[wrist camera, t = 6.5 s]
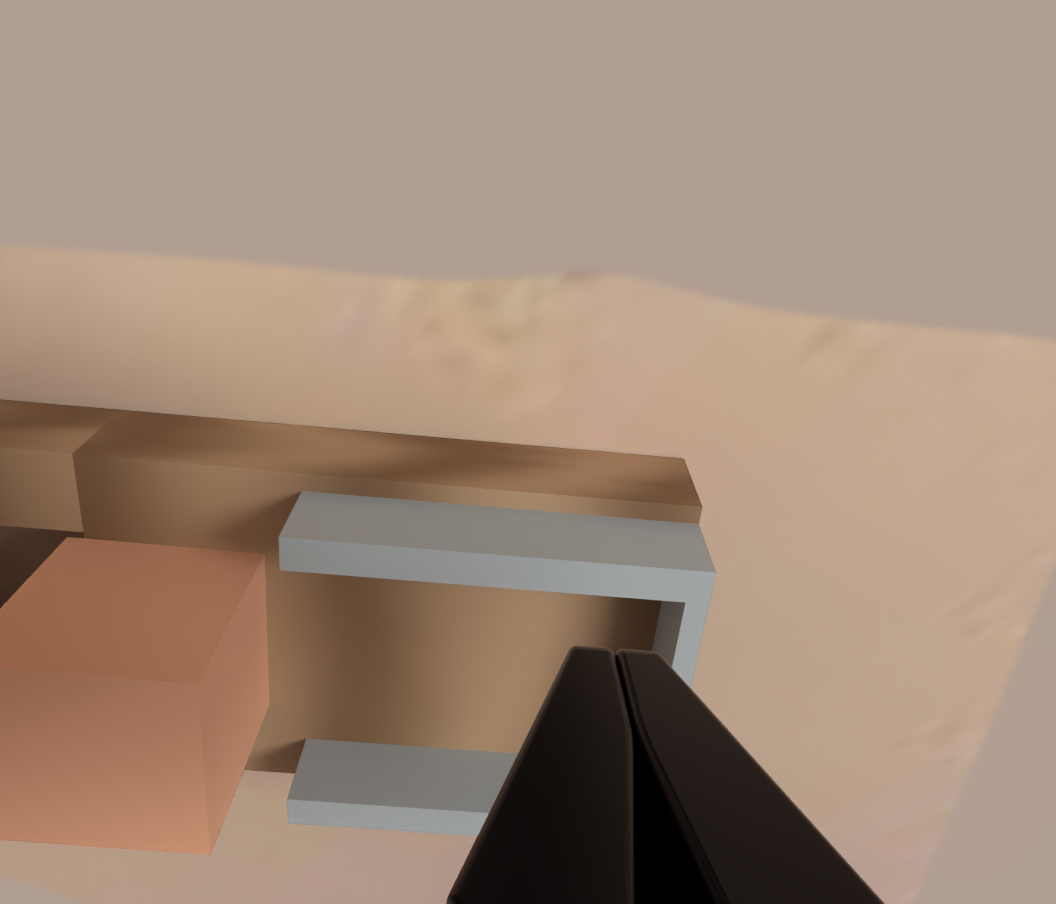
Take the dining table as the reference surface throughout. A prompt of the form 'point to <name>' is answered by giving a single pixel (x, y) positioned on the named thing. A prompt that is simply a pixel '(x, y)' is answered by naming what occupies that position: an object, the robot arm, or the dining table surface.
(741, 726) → the dining table surface
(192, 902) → the dining table surface
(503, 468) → the tray
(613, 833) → the robot arm
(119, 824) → the block
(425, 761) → the grey u-shaped piece
